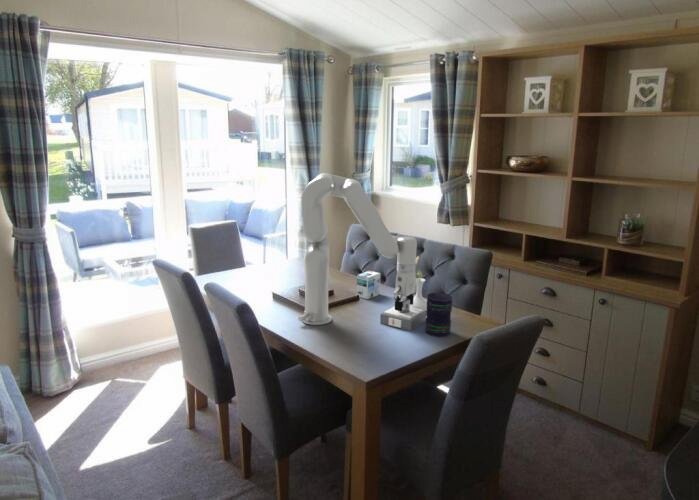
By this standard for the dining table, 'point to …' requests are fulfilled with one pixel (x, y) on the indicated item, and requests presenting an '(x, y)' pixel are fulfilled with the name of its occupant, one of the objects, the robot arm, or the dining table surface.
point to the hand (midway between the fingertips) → (404, 307)
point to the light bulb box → (368, 284)
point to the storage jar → (438, 314)
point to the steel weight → (405, 306)
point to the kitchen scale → (403, 318)
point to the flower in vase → (419, 292)
